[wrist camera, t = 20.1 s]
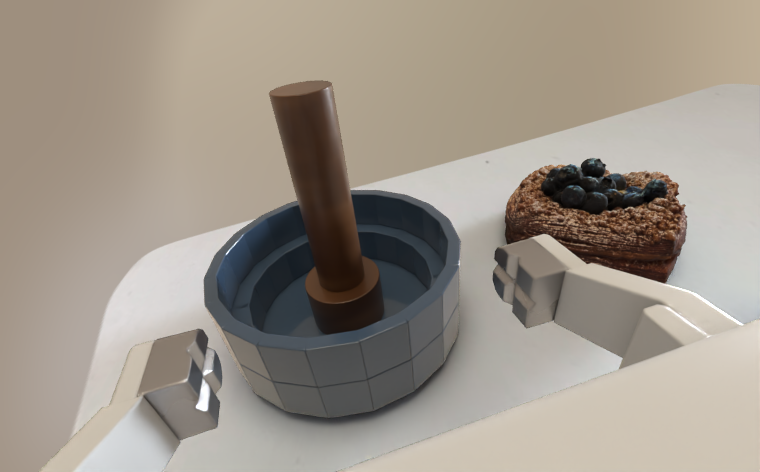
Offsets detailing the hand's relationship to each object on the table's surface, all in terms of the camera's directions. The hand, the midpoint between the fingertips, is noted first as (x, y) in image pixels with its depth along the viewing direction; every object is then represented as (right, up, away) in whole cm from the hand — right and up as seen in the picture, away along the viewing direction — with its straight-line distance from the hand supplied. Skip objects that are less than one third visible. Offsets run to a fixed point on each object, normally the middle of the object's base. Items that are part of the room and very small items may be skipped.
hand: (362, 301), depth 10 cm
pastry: (+17, +2, +19) cm, 25 cm away
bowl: (-2, -4, +14) cm, 15 cm away
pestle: (-2, -3, +14) cm, 14 cm away
